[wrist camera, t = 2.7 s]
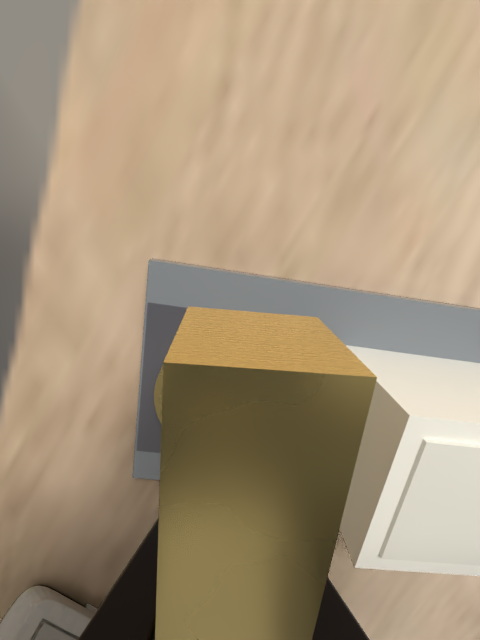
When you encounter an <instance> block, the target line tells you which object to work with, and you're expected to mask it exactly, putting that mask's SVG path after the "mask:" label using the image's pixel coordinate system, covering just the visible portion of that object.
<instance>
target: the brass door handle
mask: <svg viewBox="0 0 480 640" xmlns="http://www.w3.org/2000/svg"><path fill="white" fill-rule="evenodd" d="M376 380H377V377H376V376H375V375H374V374H373V373H372V372H371V371H370V370H369V369H368V368H367V367H366V365H365V364H364V363H363V362H362V361H361V360H360V359H359V358H358V357H357V356H356V355H355V354H354V353H353V352H352V351H351V350H350V349H349V348H348V347H347V346H346V345H345V344H344V343H343V342H342V341H341V340H340V339H339V338H338V337H337V336H336V335H335V334H334V333H333V332H332V331H331V330H330V329H329V328H328V327H327V326H326V325H325V324H324V323H323V322H322V321H321V320H320V319H319V318H318V317H309V316H297V315H285V314H273V313H261V312H249V311H237V310H225V309H213V308H201V307H189V306H188V308H187V310H186V313H185V315H184V317H183V319H182V322H181V324H180V326H179V328H178V331H177V333H176V335H175V337H174V340H173V342H172V344H171V346H170V348H169V351H168V353H167V355H166V357H165V360H164V362H163V366H162V368H161V370H160V372H159V375H158V377H157V380H156V384H155V389H154V404H155V409H156V413H157V416H158V418H159V421H160V422H161V457H160V491H159V524H158V557H157V591H156V624H155V640H312V637H313V633H314V629H315V625H316V621H317V617H318V613H319V609H320V605H321V601H322V597H323V593H324V589H325V585H326V581H327V577H328V573H329V569H330V565H331V561H332V557H333V552H334V548H335V544H336V540H337V536H338V532H339V528H340V524H341V520H342V516H343V512H344V508H345V504H346V500H347V496H348V492H349V488H350V484H351V480H352V476H353V472H354V468H355V464H356V460H357V456H358V452H359V448H360V444H361V440H362V436H363V432H364V428H365V424H366V420H367V416H368V412H369V408H370V404H371V400H372V396H373V392H374V388H375V384H376Z"/></svg>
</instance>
